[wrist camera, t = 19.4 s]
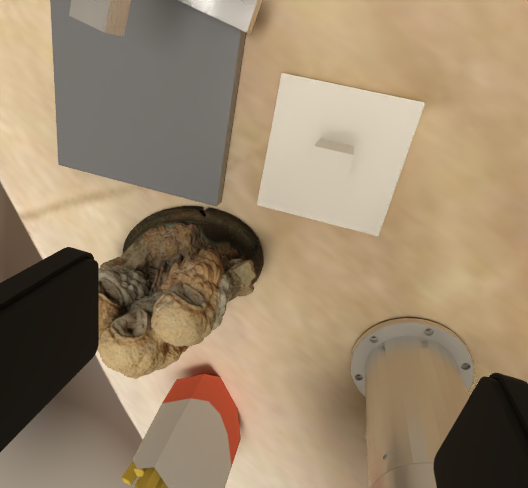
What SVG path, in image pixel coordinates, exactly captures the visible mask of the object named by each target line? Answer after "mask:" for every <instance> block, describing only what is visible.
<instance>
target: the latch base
mask: <svg viewBox="0 0 528 488" xmlns="http://www.w3.org/2000/svg"><path fill="white" fill-rule="evenodd" d="M50 2H51V22H52V42H53V63H54V83H55V103H56V123H57V143H58V163H59V165H61V166H65V167H69V168H73V169H77V170H80V171H84V172H88V173H92V174H96V175H99V176H103V177H107V178H111V179H114V180H118V181H122V182H126V183H130V184H133V185H137V186H141V187H145V188H149V189H152V190H156V191H160V192H164V193H168V194H171V195H175V196H179V197H183V198H187V199H190V200H194V201H198V202H202V203H206V204H209V205H213V206H217V205H218V204H220V203H221V200H222V193H223V186H224V180H225V173H226V166H227V159H228V152H229V146H230V139H231V132H232V125H233V118H234V111H235V105H236V98H237V91H238V84H239V77H240V70H241V64H242V57H243V50H244V43H245V36H246V32H244V31H242V30H240V29H238V28H236V27H233V26H231V25H229V24H227V23H225V22H223V21H221V20H219V19H216V18H214V17H212V16H210V15H208V14H206V13H204V12H202V11H199V10H197V9H195V8H193V7H191V6H189V5H187V4H185V3H182V2H180V1H178V0H131V3H130V8H129V13H128V18H127V23H126V27H125V32H124V37H122V36H118V35H113V34H109V33H104V32H102V31H100V30H98V29H96V28H94V27H92V26H90V25H88V24H86V23H84V22H81V21H79V20H77V19H75V18H73V17H71V16H69V13H70V6H71V0H50Z"/></svg>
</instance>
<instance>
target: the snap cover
mask: <svg viewBox="0 0 528 488" xmlns="http://www.w3.org/2000/svg"><path fill="white" fill-rule="evenodd" d="M424 105H425V102H420V101H415V100H410V99H405V98H401V97H396V96H391V95H386V94H381V93H377V92H372V91H367V90H362V89H357V88H353V87H348V86H343V85H338V84H333V83H329V82H324V81H319V80H314V79H309V78H305V77H300V76H295V75H290V74H285V73H282V74H281V80H280V85H279V90H278V95H277V101H276V106H275V111H274V116H273V122H272V127H271V132H270V137H269V143H268V148H267V153H266V159H265V164H264V169H263V174H262V180H261V185H260V190H259V195H258V201H257V205H259V206H263V207H266V208H270V209H274V210H278V211H282V212H286V213H290V214H293V215H297V216H301V217H305V218H309V219H313V220H317V221H320V222H324V223H328V224H332V225H336V226H340V227H344V228H347V229H351V230H355V231H359V232H363V233H367V234H371V235H374V236H379V233H380V230H381V227H382V225H383V222H384V219H385V216H386V213H387V210H388V208H389V205H390V202H391V199H392V196H393V193H394V190H395V188H396V185H397V182H398V179H399V176H400V173H401V171H402V168H403V165H404V162H405V159H406V156H407V154H408V151H409V148H410V145H411V142H412V139H413V136H414V134H415V131H416V128H417V125H418V122H419V119H420V117H421V114H422V111H423V108H424Z"/></svg>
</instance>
